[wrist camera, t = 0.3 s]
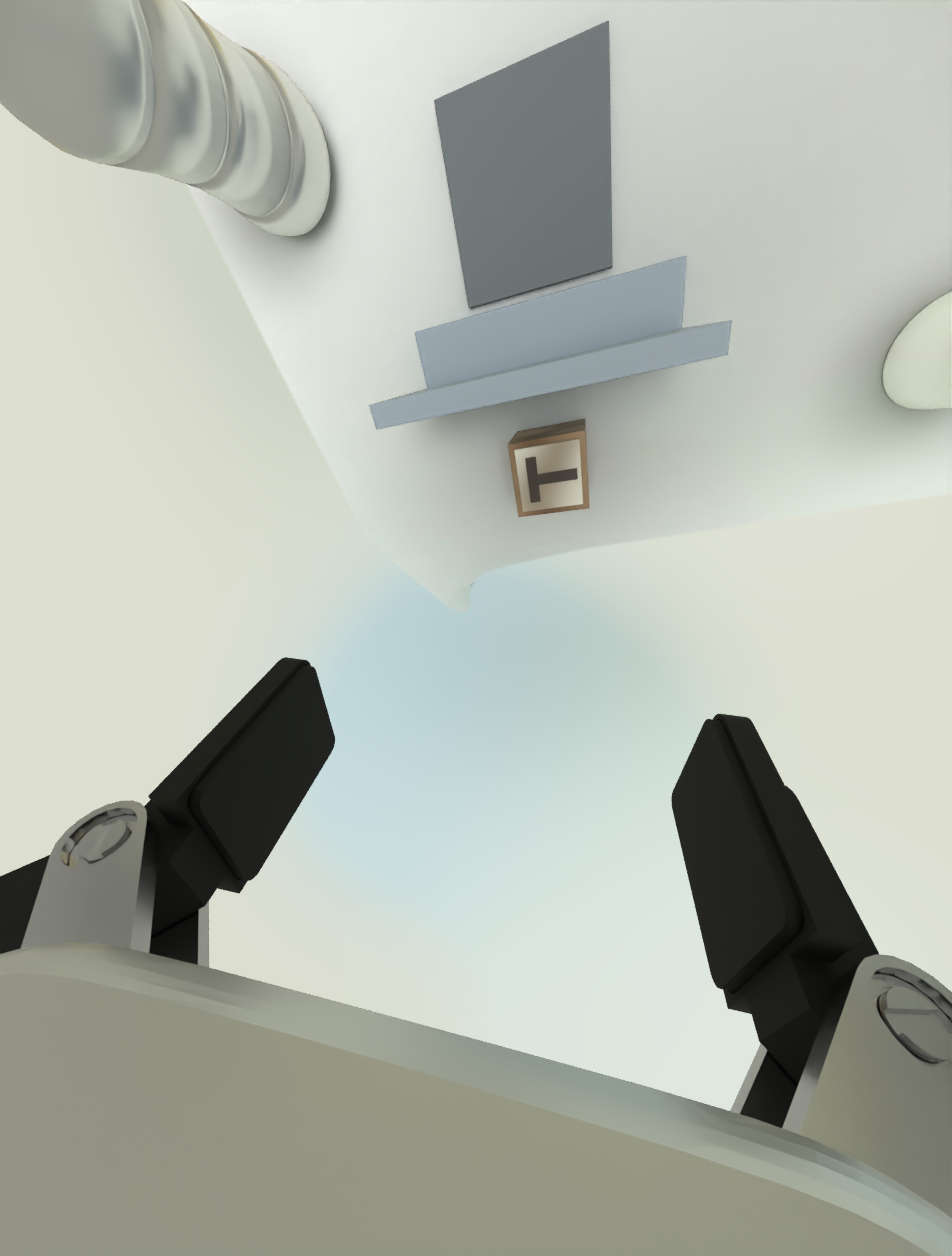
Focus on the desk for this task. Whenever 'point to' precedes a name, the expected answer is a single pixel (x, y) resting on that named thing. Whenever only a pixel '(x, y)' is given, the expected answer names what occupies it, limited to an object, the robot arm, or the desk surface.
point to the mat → (532, 169)
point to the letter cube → (550, 468)
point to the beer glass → (922, 359)
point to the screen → (557, 344)
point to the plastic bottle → (166, 103)
